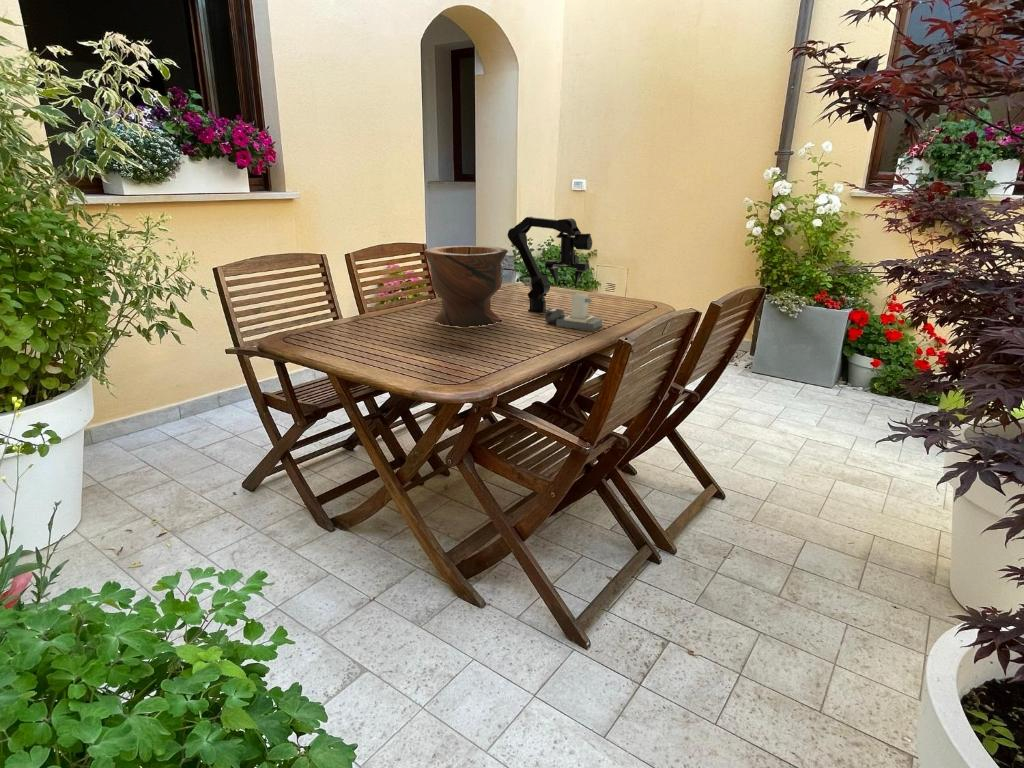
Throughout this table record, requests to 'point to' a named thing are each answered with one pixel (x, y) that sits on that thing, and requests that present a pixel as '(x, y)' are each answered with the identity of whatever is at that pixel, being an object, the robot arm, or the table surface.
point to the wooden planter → (466, 283)
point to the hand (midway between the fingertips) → (566, 285)
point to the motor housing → (572, 320)
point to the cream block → (580, 306)
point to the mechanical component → (527, 283)
